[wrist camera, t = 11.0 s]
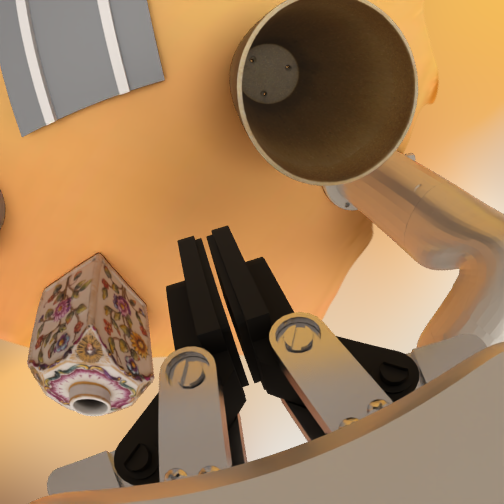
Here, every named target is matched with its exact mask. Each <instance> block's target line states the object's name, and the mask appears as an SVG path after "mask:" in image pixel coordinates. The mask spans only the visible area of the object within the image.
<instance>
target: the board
mask: <svg viewBox="0 0 504 504" xmlns="http://www.w3.org/2000/svg"><path fill="white" fill-rule="evenodd" d="M0 66H1V70H2V74H3V78H4V82H5V85H6V89H7V92H8V96H9V99H10V102H11V106H12V109H13V112H14V115H15V118H16V121H17V124H18V127H19V130H20V133H21V136H22V137H24V136H26V135H27V134H29V133H31V132H33V131H35V130H37V129H39V128H41V127H43V126H45V125H46V126H47V125H49V124H51V123H53V122H55V121H56V120H58V119H60V118H62V117H64V116H67V115H69V114H71V113H73V112H76V111H78V110H81V109H83V108H85V107H88V106H90V105H93V104H95V103H98V102H100V101H103V100H106V99H108V98H111V97H114V96H116V95H119V94H120V95H121V94H124V93H127V92H130V91H131V90H134V89H137V88H140V87H143V86H146V85H149V84H153V83H156V82H159V81H163V80H165V79H164V75H163V71H162V67H161V62H160V58H159V54H158V49H157V45H156V41H155V36H154V32H153V27H152V23H151V18H150V13H149V9H148V4H147V0H0Z"/></svg>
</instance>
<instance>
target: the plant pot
mask: <svg viewBox="0 0 504 504" xmlns="http://www.w3.org/2000/svg"><path fill="white" fill-rule="evenodd" d="M250 59H252V60H253V62H251V61H250ZM286 66H289V68H286ZM230 90H231V95H232V99H233V103H234V106H235V109H236V111H237V114H238V116H239V118H240V120H241V122H242V125H243V127H244V129H245V131H246V132H247V134H248V136H249V138H250V140H251V141H252V143H253V145H254V146H255V147H256V149H257V150H258V152H259V153H260V154H261V155H262V157H263V158H264V159H265V160H266V161H267V162H268V163H269V164H271V165H272V166H273V167H274V168H275V169H277V170H278V171H279V172H281V173H282V174H284V175H286V176H288V177H290V178H292V179H294V180H297V181H299V182H303V183H306V184H310V185H318V186H332V185H340V184H345V183H349V182H352V181H355V180H357V179H360V178H362V177H364V176H366V175H368V174H369V173H371V172H372V171H374V170H375V169H377V168H378V167H379V166H381V165H382V164H383V163H384V162H385V161H386V160H387V159H388V158H389V157H390V156H391V155H392V154H393V153H394V152H395V151H396V149H397V148H398V147H399V145H400V144H401V142H402V141H403V139H404V137H405V135H406V133H407V132H408V129H409V127H410V125H411V122H412V119H413V116H414V113H415V109H416V105H417V97H418V77H417V70H416V65H415V61H414V57H413V54H412V51H411V49H410V47H409V44H408V42H407V40H406V38H405V37H404V35H403V33H402V32H401V30H400V29H399V27H398V26H397V25H396V24H395V22H394V21H393V20H392V19H391V18H390V17H389V16H388V15H387V14H386V13H384V12H383V11H382V10H381V9H379V8H378V7H377V6H375V5H374V4H372V3H371V2H369V1H367V0H287V1H285V2H283V3H281V4H280V5H278V6H277V7H275V8H274V9H273V10H271V11H270V12H269V13H267V14H266V15H265V16H264V17H263V18H262V19H261V20H259V21H258V22H257V23H256V24H255V25H254V26H253V27H252V28H251V29H250V30H249V32H248V33H247V34H246V35H245V36H244V38H243V39H242V41H241V42H240V44H239V46H238V47H237V50H236V52H235V54H234V57H233V60H232V63H231V68H230ZM265 92H266V95H265V96H264V93H265Z"/></svg>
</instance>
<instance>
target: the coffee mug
mask: <svg viewBox="0 0 504 504" xmlns="http://www.w3.org/2000/svg"><path fill="white" fill-rule="evenodd" d="M4 218H5V203H4V198H3V195H2V192H1V190H0V229H1V227H2V225H3V222H4Z"/></svg>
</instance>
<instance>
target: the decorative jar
mask: <svg viewBox="0 0 504 504" xmlns="http://www.w3.org/2000/svg"><path fill="white" fill-rule="evenodd" d="M27 362H28V367H29V368H30V370H31V372H32V374H33V376H34V378H35V379H36V380H37V382H38V383H39V385H40V387H41V388H42V390H43V392H44V393H45V395H46V396H48V397H49V398H51V399H52V400H54V401H55V402H57V403H59V404H60V405H62V406H64V407H66V408H68V409H70V410H73V411H76V412H78V413H80V414H83V415H87V416H101V415H105V414H110V413H113V412H116V411H119V410H122V409H125V408H128V407H130V406H132V405H133V404H134V403H135V402H136V401H137V399H138V398H139V397H140V395H141V394H142V393H143V392H144V391H145V390H146V388H147V387H148V386H149V385H150V384H151V383H152V382H153V380H154V374H153V363H152V352H151V342H150V332H149V324H148V315H147V308H146V304H145V303H144V302H143V301H142V300H141V299H140V298H139V297H138V296H137V295H136V294H135V292H134V291H133V290H132V289H131V288H130V287H129V286H128V285H127V283H126V282H125V281H124V280H123V279H122V278H121V277H120V276H119V274H118V273H117V272H116V271H115V270H114V269H113V268H112V267H111V265H110V264H109V263H108V262H107V261H106V260H105V258H104V257H103V256H102V255H101V254H100V253H98V254H96V255H94V256H93V257H91V258H90V259H88V260H87V261H85V262H83V263H82V264H80V265H79V266H77V267H76V268H74V269H73V270H71V271H70V272H68V273H67V274H66V275H64V276H63V277H61V278H60V279H59V280H57V281H56V282H54V283H53V284H51V285H50V286H48V287H47V288H45V289H44V291H43V293H42V296H41V299H40V303H39V307H38V311H37V315H36V320H35V324H34V328H33V333H32V338H31V343H30V349H29V355H28V361H27Z"/></svg>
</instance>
